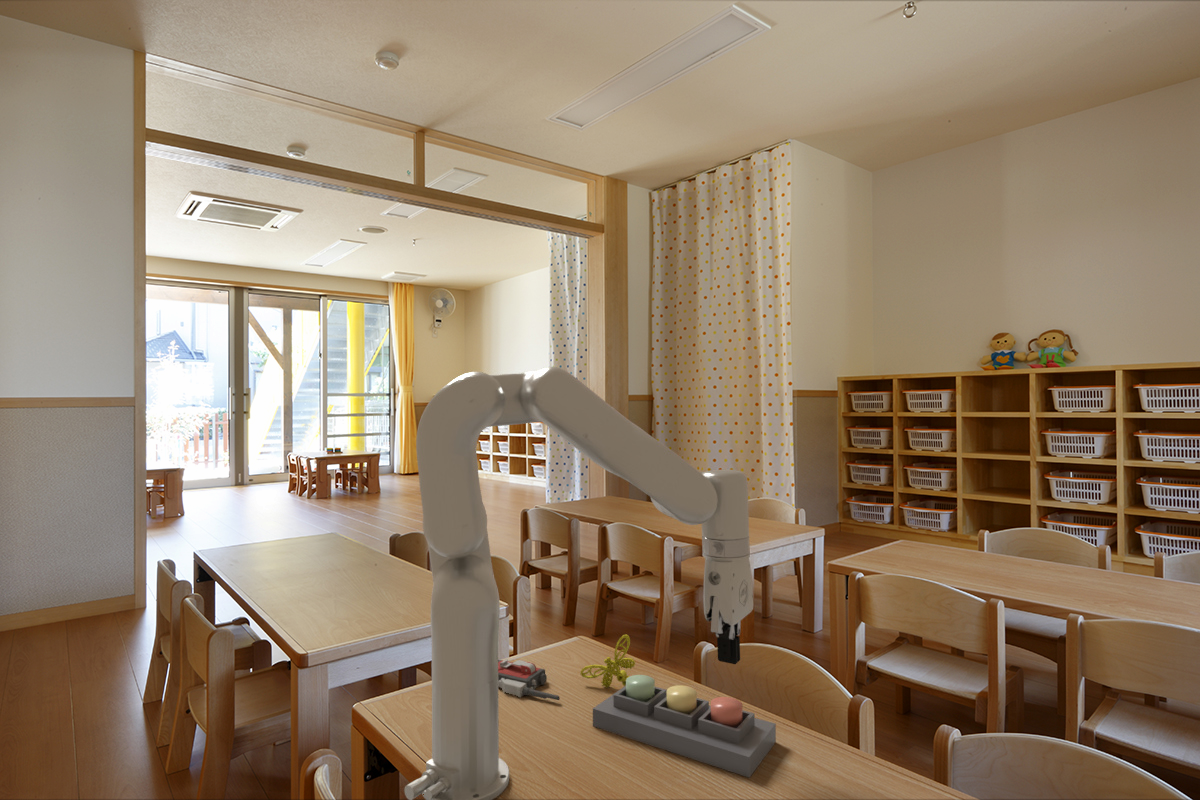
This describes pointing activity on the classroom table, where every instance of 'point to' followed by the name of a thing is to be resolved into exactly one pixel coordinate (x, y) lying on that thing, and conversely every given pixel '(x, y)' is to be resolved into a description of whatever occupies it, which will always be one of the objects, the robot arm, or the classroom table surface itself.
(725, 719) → the red button
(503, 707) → the classroom table surface
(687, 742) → the button panel
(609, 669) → the decorative insect
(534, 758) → the classroom table surface
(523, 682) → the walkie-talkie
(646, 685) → the sage button
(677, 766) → the classroom table surface
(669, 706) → the mustard button
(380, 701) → the classroom table surface
